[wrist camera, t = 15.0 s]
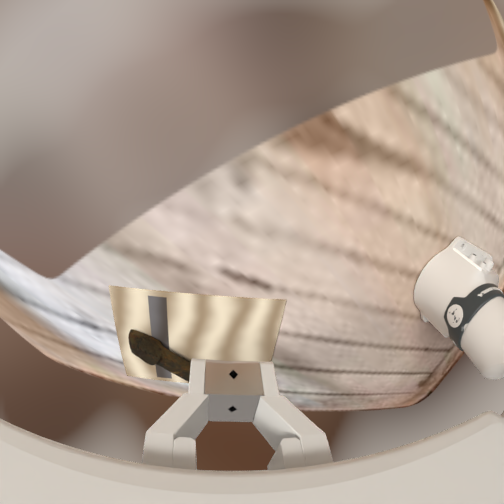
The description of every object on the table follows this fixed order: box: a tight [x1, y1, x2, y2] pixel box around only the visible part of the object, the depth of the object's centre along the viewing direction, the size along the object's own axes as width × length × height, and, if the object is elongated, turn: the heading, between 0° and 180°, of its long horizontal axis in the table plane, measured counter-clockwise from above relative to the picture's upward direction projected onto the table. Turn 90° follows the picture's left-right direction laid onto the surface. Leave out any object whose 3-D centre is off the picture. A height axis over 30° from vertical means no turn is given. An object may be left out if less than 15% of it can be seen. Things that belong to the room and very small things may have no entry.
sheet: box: [109, 285, 286, 383], centre depth 48 cm, size 28×22×1 cm
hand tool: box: [128, 329, 191, 382], centre depth 46 cm, size 19×4×5 cm, turn 42°
